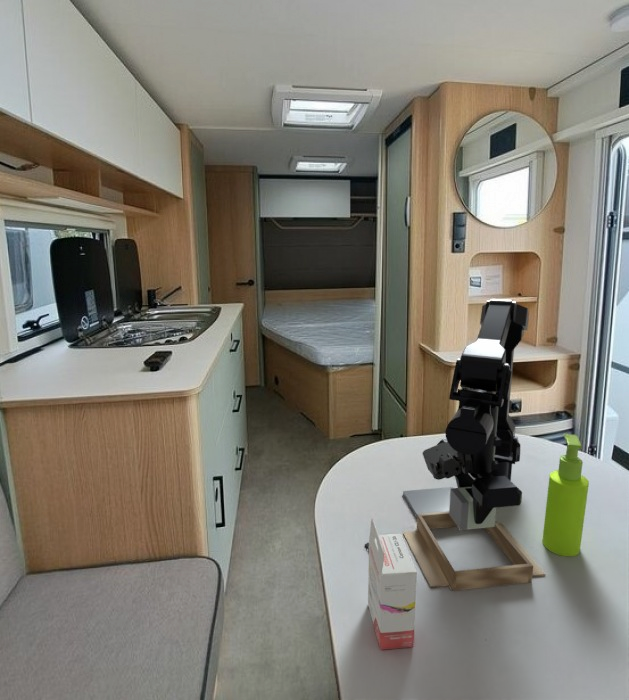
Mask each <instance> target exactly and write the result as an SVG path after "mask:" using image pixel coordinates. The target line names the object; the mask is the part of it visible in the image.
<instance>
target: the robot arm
mask: <svg viewBox="0 0 629 700" xmlns="http://www.w3.org/2000/svg"><path fill="white" fill-rule="evenodd" d="M529 320H530V313H529V309H528V307H525V306H522V305H521V304H518V303H517V301H513V299H499V298H498V299H497V298H491V299H490V300H488V299H487V300H486V303H485V304H483V305H482V306H481V314H480V321H479V324H480V325H481V326H480V329H479V333H478V335H477V338H476V340H475V341H474V342H473V343H471V344H468V345H467V346H465V347H464V350H463V351H462V353H461V356H460V357H459V358H457V360H456V362H455V365H454V371H453V375H452V376H453V377H452V381H451V386H450V390H449V391H450V392H449V395H448V399H449V401H450V400H452V401H457V402H458V409H457V410H456V412H455V414H454V415H453V416H452V417H451V419H450V421H449V422H448V423H447V426H446V427H445V428H446V429H445V438H443V439H441V440H440V441H439V442H438V443H436V445H434V446H432V447H428V448H427V449H424V450H423V451H422V456H423V459H424V461H425V464H426V468H427V470H428V471H429V472H430V474H431V475H432V477H433V478H434V479H435V480H437V481H439V480H440V481H441V480H442V479H450V478H453V477H454V479H455V482H456V486H457V487H456V488H463V487H472V488H466V489H465V490H466V491H467V492H468V494H469V495H470V496H471V497H472V498H473V509H474V520H475V523H476V524H482V523H483V521H484V520H485V519H486V517H487V516H488V515H489V513H490V512H491V511H492V509H493V508H496V509H497V508H505V507H515V506H517V507H518V506H521V504H522V499H523V498H522V497H523V491H522V490H521V489H520V488H519V487H518V486H516V484H515V483H513V481H512V472H513V471H512V469H513V465H515V464H516V463H517V462H520V460H521V443H520V442H519V437H518V436H516V425H515V422H514V421H513V419H512V418H511V416H510V414H509V413H510V402H511V401H510V400H511V391H512V379H513V367H514V357H515V356H514V354H515V349H516V348H517V346H518V345H519V344H520V343H521V341H522V339H523V338H524V335H525V331H528V328H529ZM459 387H461V388H462V389H461V388H459Z"/></svg>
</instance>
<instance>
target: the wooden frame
mask: <svg viewBox="0 0 629 700" xmlns="http://www.w3.org/2000/svg"><path fill="white" fill-rule="evenodd" d="M456 527H458V526H457V525H456V524H455V522H454V521H453V519H452V518H451V516H450V515H449V511H447V512H436V513H425V514H417V518H416V529H417V530H409V531H402V534H403V536H404V538H405V540H406V541H407V544H408V546H409V548H410V550H411V552H412V555H413V556H414V558H415V560H416V562H417V563H418V566H419V568H420V570H421V571H422V574H423V576H424V578H425V579H426V582H427V584H428V585H429V588H432V589H433V588H441V587H442V588H443V587H449V588H450V591H451V592H455V591H464V590H473V589H481V588H492V587H498V586H499V587H500V586H509V585H518V584H526V583H532V581H533V578H534V577H543V576H546V573H545V571H544V570H543V569H542V568H541V567H540V566H539V564H538V563H537V562H536V561H535V560H534V558H533V557H531V556H530V554H529V553H528V551H526V550H525V548H524V547H523V546H522V545H521V544H520V543H519V542H518V540H517V539H516V538H515V537H514V536H513V534H511V532H510V531H509V530H508V529H507V528H506V527H505V526H504V524H503V523H502V522H496V520H495V527H487V528H484V529H485V530H486V532H488V534H489V536H490V537H491V538H492V539H493V540H494V541H495V543H496V544H497V546H498V547H499V548H500V549H501V550H502V552H503V553H504V554H505V555H506V557H507V558H508V559H509V560H510V562H511V565H510V564H509V565H502V566H492V567H491V566H490V567H483V568H474V569H473V568H472V569H464V570H455V569H454V568H453V566H452V564H451V562H450V560H449V559H448V557H447V556H446V554H445V552H444V551H443V549H442V548H441V546H440V544H439V542H438V541H437V539H436V537H435V536H434V534H433V533H432V531H431V530H433V529H445V528H456Z"/></svg>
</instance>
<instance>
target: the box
mask: <svg viewBox="0 0 629 700" xmlns="http://www.w3.org/2000/svg"><path fill="white" fill-rule="evenodd" d="M466 488H472V487H463V488H458V487H456V488H455V487H453V488H451V490H450V507H449V515H450V516H451V518H452V519H453V521H454V522H455V524H456V525H457V527H458V529H459V531H465V530H473V529H474V530H475V529H485V528H487V527H495V521H496V516H497V515H496V514H497V507H496V508H493V509H492V511H491V512H490V513H489V515H488V516H487V517H486V519H485V520H484V521H483V523H482V524H476V523H475V520H474V509H473V498H472V497H471V496H470V495H469V494H468V492H467V491H466V490H465V489H466Z"/></svg>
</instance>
